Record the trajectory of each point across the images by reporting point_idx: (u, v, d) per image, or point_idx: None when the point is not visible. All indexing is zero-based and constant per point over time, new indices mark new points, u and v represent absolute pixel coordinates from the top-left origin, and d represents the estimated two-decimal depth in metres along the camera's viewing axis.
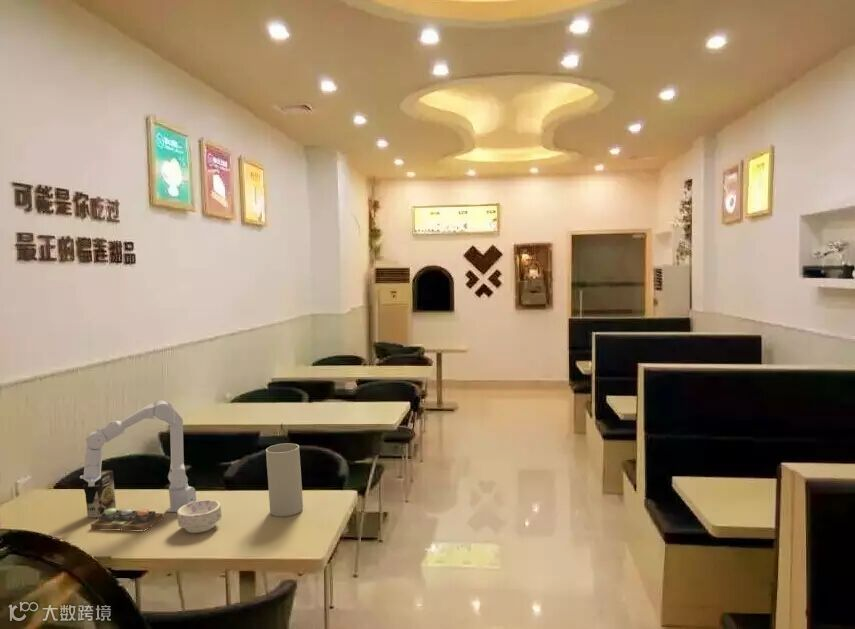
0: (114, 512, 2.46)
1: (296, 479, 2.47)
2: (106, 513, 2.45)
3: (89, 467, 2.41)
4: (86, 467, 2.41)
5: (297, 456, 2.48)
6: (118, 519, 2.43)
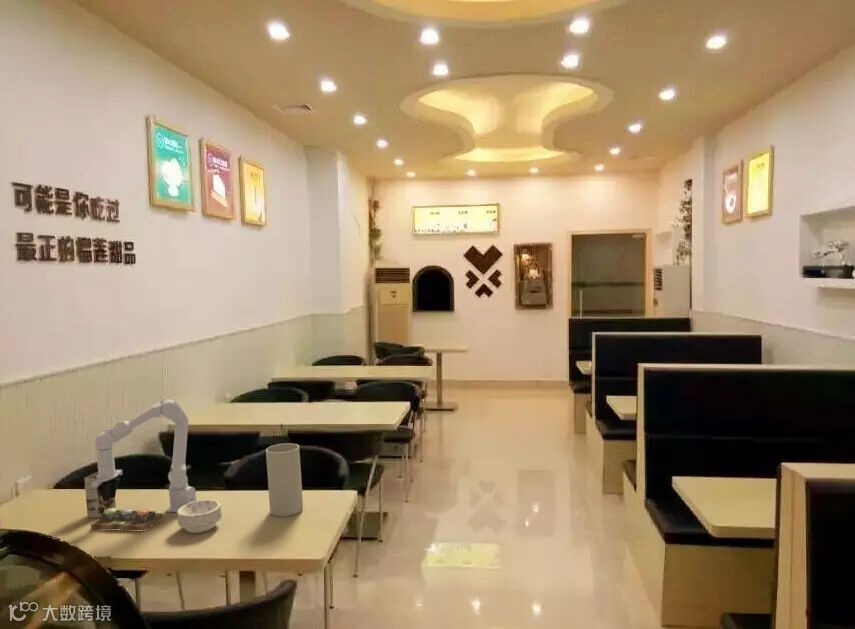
0: (114, 512, 2.46)
1: (296, 479, 2.47)
2: (106, 513, 2.45)
3: (98, 467, 2.43)
4: (98, 467, 2.44)
5: (297, 456, 2.48)
6: (118, 519, 2.43)
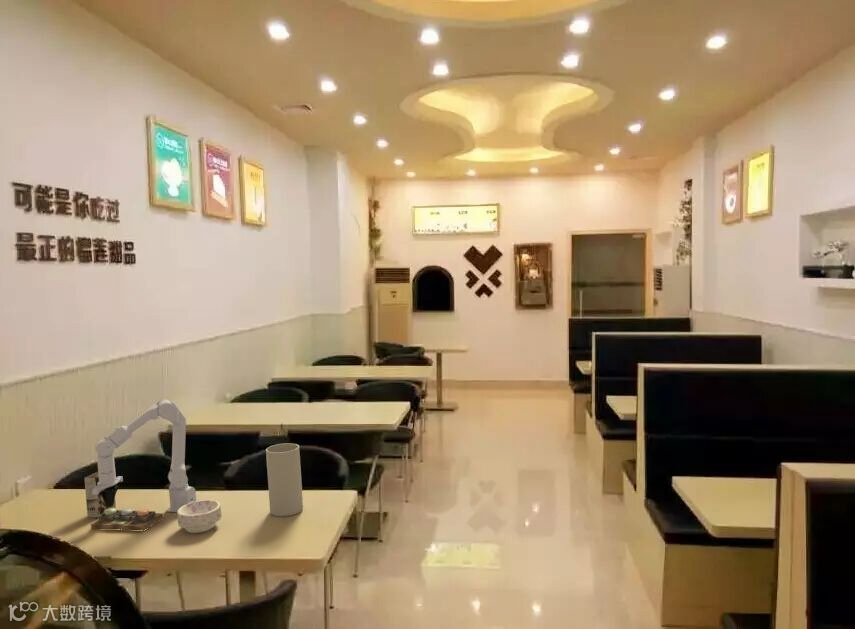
0: (114, 512, 2.46)
1: (296, 479, 2.47)
2: (106, 513, 2.45)
3: (99, 474, 2.43)
4: None
5: (297, 456, 2.48)
6: (118, 519, 2.43)
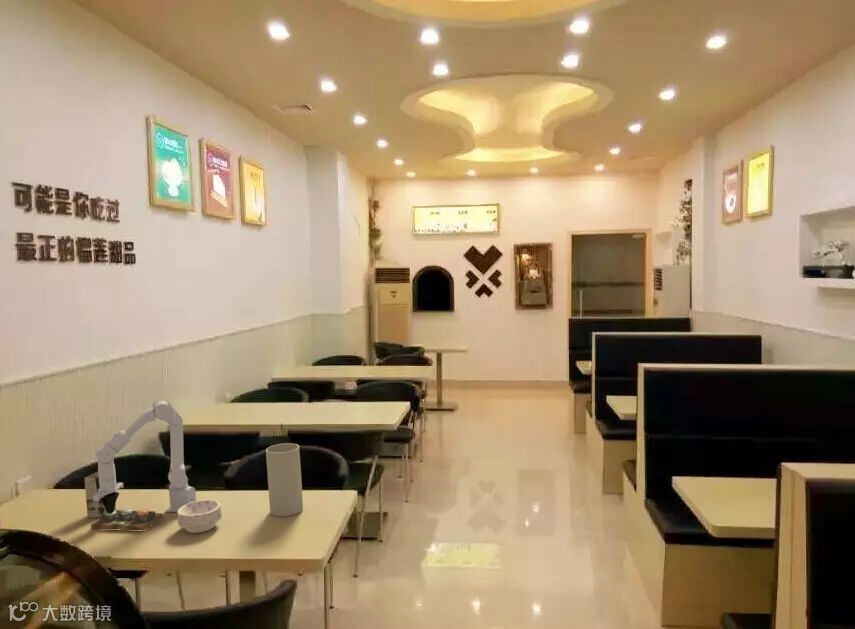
0: None
1: (296, 479, 2.47)
2: (106, 515, 2.45)
3: (100, 481, 2.44)
4: (99, 481, 2.45)
5: (297, 456, 2.48)
6: (118, 519, 2.43)
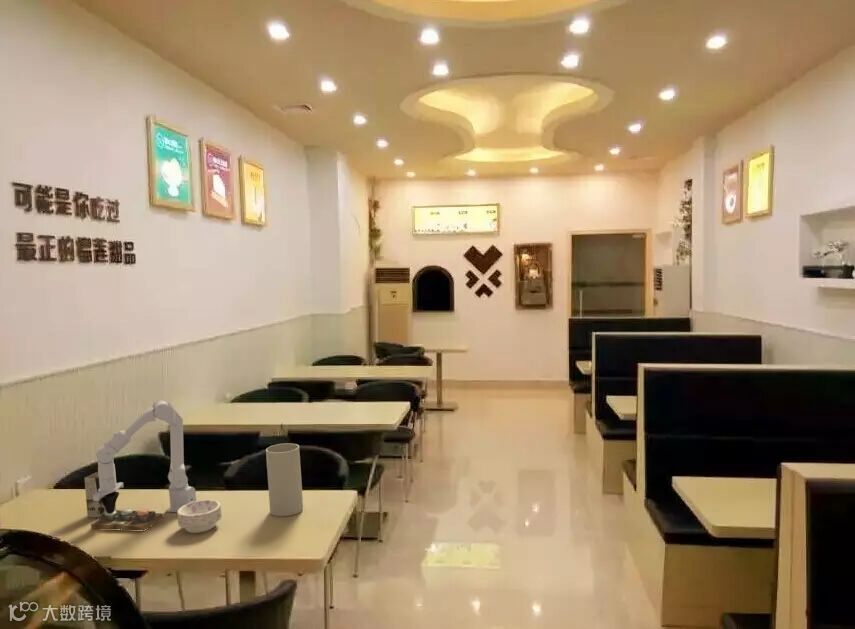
0: None
1: (296, 479, 2.47)
2: None
3: (100, 481, 2.44)
4: (99, 480, 2.45)
5: (297, 456, 2.48)
6: (118, 519, 2.43)
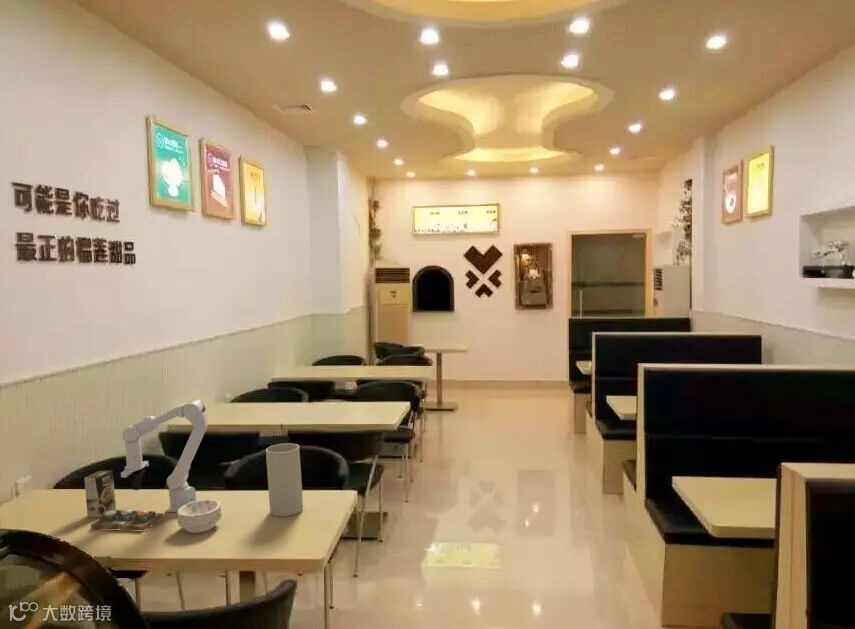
0: None
1: (296, 479, 2.47)
2: None
3: (127, 459, 2.53)
4: (126, 458, 2.54)
5: (297, 456, 2.48)
6: (118, 519, 2.43)
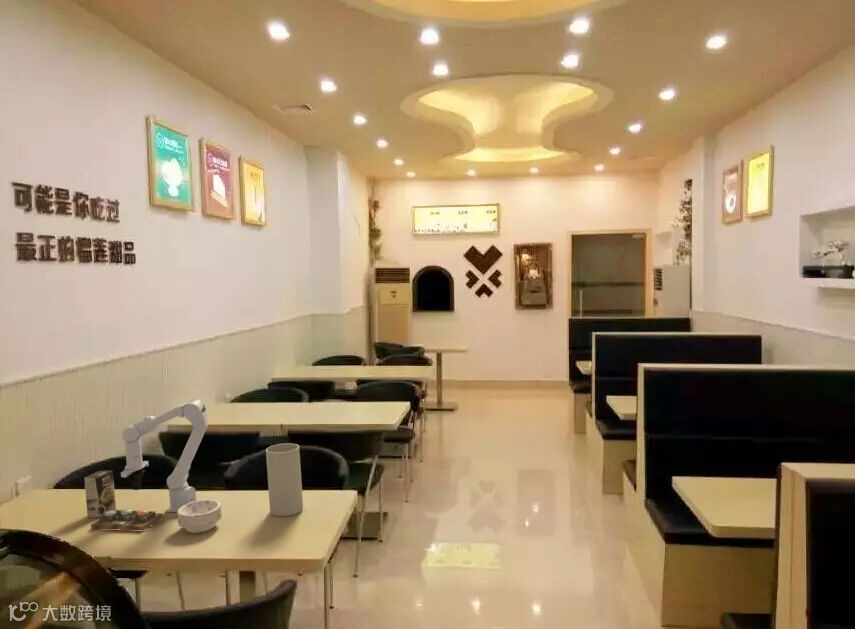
0: None
1: (296, 479, 2.47)
2: None
3: (127, 458, 2.53)
4: (126, 458, 2.54)
5: (297, 456, 2.48)
6: (118, 519, 2.43)
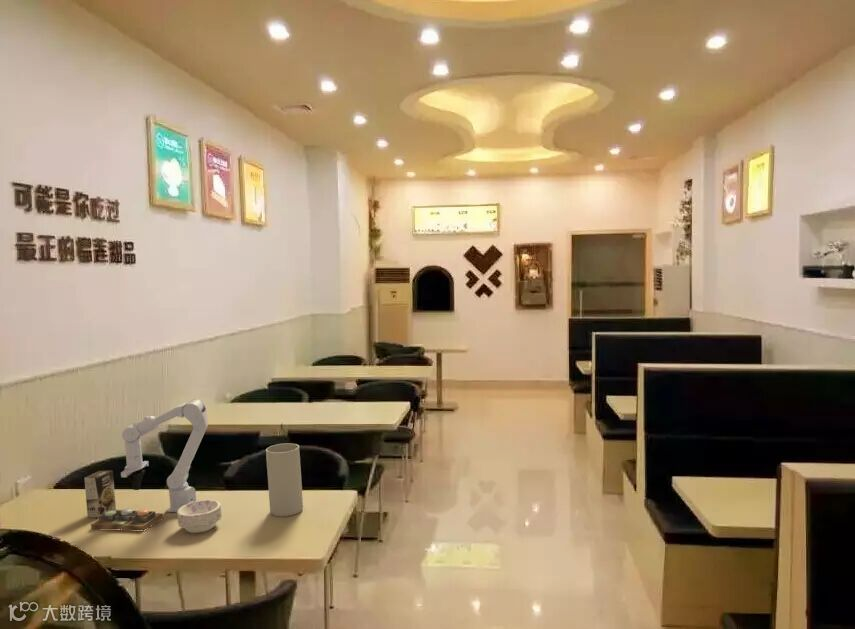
0: None
1: (296, 479, 2.47)
2: None
3: (127, 458, 2.53)
4: (126, 458, 2.54)
5: (297, 456, 2.48)
6: (118, 519, 2.43)
